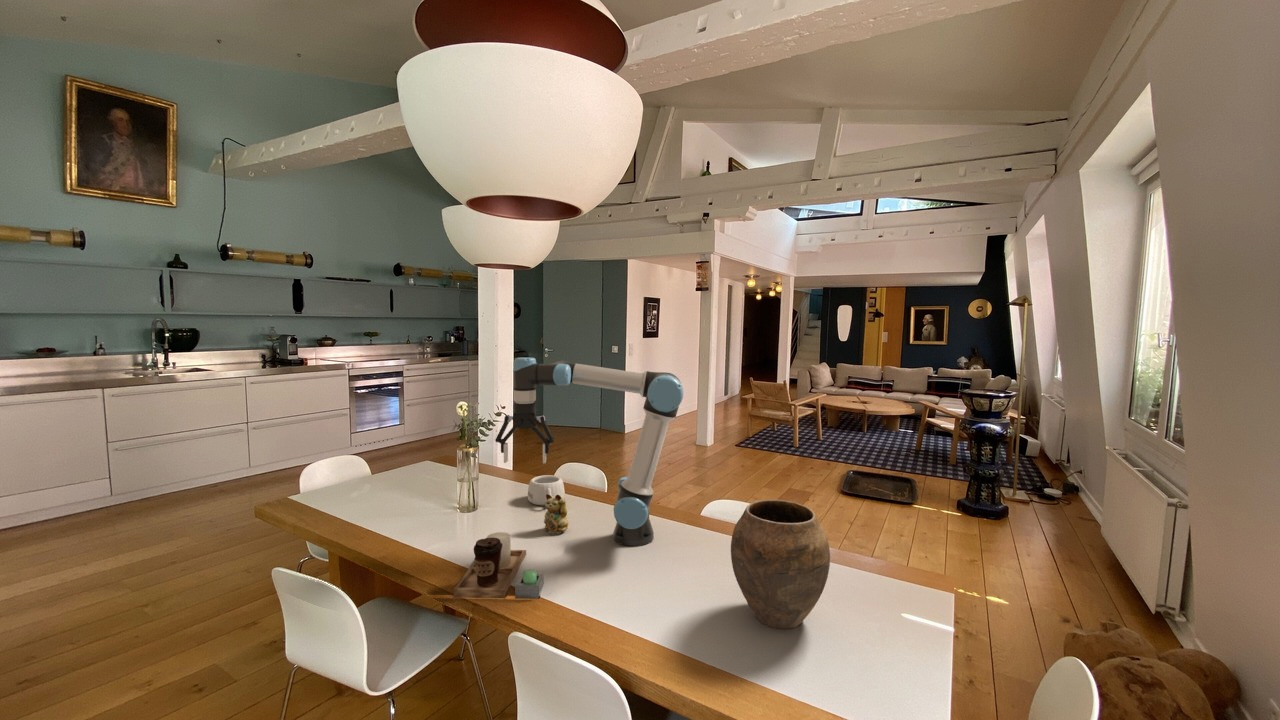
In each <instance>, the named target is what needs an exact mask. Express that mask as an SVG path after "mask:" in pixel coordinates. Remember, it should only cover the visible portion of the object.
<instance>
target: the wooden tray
mask: <svg viewBox="0 0 1280 720" xmlns="http://www.w3.org/2000/svg"><path fill="white" fill-rule="evenodd" d="M526 556H527V550H526V549H511V563H510V564H509V565H508V566H506V567H504V568H503V567H500V568H499V571H498V579H499V582H498V583H497V584H496V585H493V586H489V587H482V586H479V585H478V584H477V574H476V571H475V560H473V562H472V563H471V565H470V566H469V567H468V569H467V570H466V572H465V573H464V574H463V576H462V577H461V579H460V580H459V581H458V583H457V584H456V585H455V587H454V588H453V598H457V599H458V598H459V599H460V598H461V599H463V598H466V599H469V598H470V599H506V597H507V595H506V594H507V593H508V591H509V588H510V587H511V584H512V582H513V581H514V579H515V577H516V575H517V573H518V571H519V569H520V567H521V565H522V564H523V561H524V560H525V559H526Z"/></svg>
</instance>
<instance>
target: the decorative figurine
mask: <svg viewBox="0 0 1280 720" xmlns="http://www.w3.org/2000/svg"><path fill="white" fill-rule="evenodd" d="M546 498H547V501H546V505H545V509H546V512H545V513H544V520H543V523H544V524H545V525H544V529H545V530H548V533H549V534H553V535H554V534H555V535H560V534H561V533H565V531H567V530H568V527H569V520H568V519H567V516H568V511H567V501H566V499H565V498H564V499H562V497H561V495H560V494H558V495H556V496H555V497H553V496H552V495H550V494H546Z"/></svg>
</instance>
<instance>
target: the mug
mask: <svg viewBox="0 0 1280 720" xmlns="http://www.w3.org/2000/svg"><path fill="white" fill-rule="evenodd" d="M565 491H566V490H565V486H564V481H563V479H562V477H559V475H558V476H557V475H552V474H551V475H550V474H548V475H547V474H546V475H545V474H544V475H539V476H535V477H533V478H532V479H530V480H529V483H528V489H527V499H528V501H529V502H530V503H531V504H532V505H535V506H543V507H544V506H545V505H546V501H547V498H546V494H550V495H552V496H553V497H555V496H556V495H558V494H560V495H561V497H562V499H565V495H566V494H565ZM545 507H546V506H545Z"/></svg>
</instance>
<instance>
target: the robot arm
mask: <svg viewBox="0 0 1280 720" xmlns="http://www.w3.org/2000/svg"><path fill="white" fill-rule="evenodd" d="M570 384H573V385H574V384H575V385H581V386H587V387H588V386H589V387H595V388H601V389H606V390H614V391H620V392H627V393H635V394H639V395H640V396H641V397H642V398H645V401H644V404H643V407H642V408H643V411H644V413H645V417H644V420H643V424H642V427H641V430H640V433H639V437H638V441H637V444H636V447H635V451H634V454H633V458H632V461H631V464H630V468H629V473H628V474H627V476H624V477H620V478H619V479H618V484H617V486H618V493H617V498H616V502H615V503H614V506H613V516H614V519H615V521H616V523H615V526H614V529H613V540H614V541H615V542H616V543H618V544H620V545H622V546H631V547H637V546H638V547H640V546H644V545H647V544H650V543H652V542H653V541H654V540H655V539H654V536H655V535H654V529H653V525H652V523H651V519H650V507H651V503H652V500H653V499H652V498H653V495H654V489H653V488H652V484H653V480H654V476H655V474H656V469H657V466H658V463H659V460H660V456H661V454H662V453H661V452H662V449H663V446H664V442H665V439H666V435H667V433H668V429H669V426H670V422H671V421H673V420H674V419H676V418H677V414H678V411H679V408H680V405H681V403H682V401H683V398H684V387H683V385H682V382H681V380H680V378H678V377H677V375H676V374H673V373H672V372H663V371H662V372H661V371H660V372H658V371H650V370H649V371H648V370H646V371H644V372H643V373H642V372H635V371H628V370H622V369H614V368H609V367H602V366H595V365H589V364H584V363H583V364H581V363H574V362H568V361H566V360H559V361H556V362H553V363H537V359H536V358H535V357H517V358H514V361H513V401H514V403H513V415H509V414H507V415H506V416H504V418H503V419H504V420H503V424H502V425H501V428H500V429H499V432H498V434H497V435H496V438H495V439H494V440H495V442H496V443H499V444H500V452H501V454H503V463H504V464H506V463H507V462H508V461H509V442H506V441H508V440H509V438H510V437H511V436H512V435H513V434H514V433H515V431H516V430H517V429H520V430H524V429H526V430H529V429H531V430H532V431H534V433H535V434H536V435H537V436H538V437H539V438H540V440H541V441H542V443H543V444H542V464H546V462H547V454H549V453H550V444H553V443H554V442H555V440H556V439H555V437H554V435H553V433H552V432H551V429H550V427H549V425H548V424H547V421H546V416H545V415H544V414H543V415H541V416H540V415H539V416H538V415H537V402H535V401H536V400H537V392H536V391H537V386H554V387H555V386H557V387H562V386H569V385H570ZM512 421H513V423H514V425H513V426H512V427H511V429H510V430H509V431H508V432H507V433H506V435H504V434H505V431H506V429H507V427H508V425H509V424H510V423H511V422H512ZM537 421H538V422H539V423H540V425H541V427H542V429H543V431H544V433H545V434H546V435H545V434H544V433H543V431H542V430H541V428H539V426H538V424H536V422H537ZM503 436H504V437H503Z"/></svg>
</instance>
